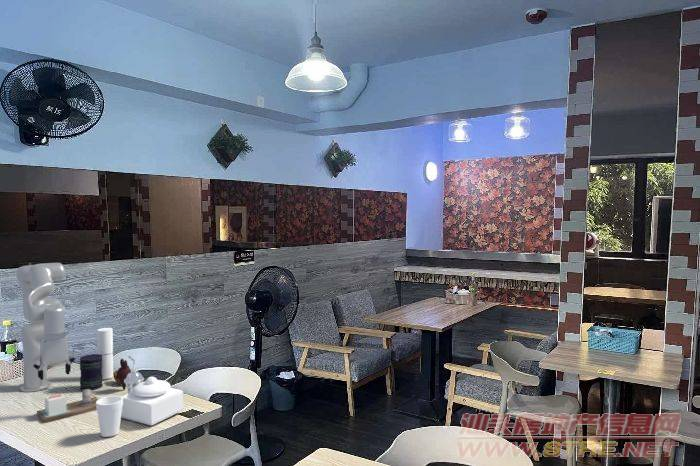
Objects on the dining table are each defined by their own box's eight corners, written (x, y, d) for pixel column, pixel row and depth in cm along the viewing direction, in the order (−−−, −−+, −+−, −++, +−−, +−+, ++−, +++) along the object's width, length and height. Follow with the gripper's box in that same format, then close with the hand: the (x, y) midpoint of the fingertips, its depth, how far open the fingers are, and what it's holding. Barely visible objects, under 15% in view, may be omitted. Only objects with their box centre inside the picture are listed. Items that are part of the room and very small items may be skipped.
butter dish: (183, 409, 212) (183, 374, 211) (150, 426, 195) (150, 387, 195) (154, 402, 219) (153, 368, 218) (120, 417, 203) (119, 380, 202)
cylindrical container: (106, 379, 248) (106, 331, 247) (94, 378, 249) (94, 330, 248) (116, 375, 255) (115, 328, 254) (104, 374, 256) (103, 327, 255)
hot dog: (122, 378, 251) (122, 368, 251) (131, 385, 241) (131, 375, 241) (112, 380, 248) (111, 370, 247) (120, 387, 238) (120, 377, 238)
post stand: (36, 414, 205) (36, 397, 205) (95, 400, 221) (95, 383, 221) (44, 423, 196) (43, 405, 196) (104, 407, 213) (104, 390, 212)
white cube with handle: (62, 406, 209) (61, 391, 209) (66, 411, 204) (66, 395, 204) (45, 411, 205) (44, 395, 204) (48, 415, 200) (48, 399, 200)
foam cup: (102, 428, 193) (102, 395, 192) (126, 427, 193) (126, 395, 193) (92, 439, 183) (91, 405, 183) (117, 438, 184) (117, 404, 183)
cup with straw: (123, 406, 214) (122, 361, 213) (124, 399, 222) (124, 356, 222) (144, 403, 217) (143, 359, 216) (144, 396, 226) (144, 354, 225)
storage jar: (107, 386, 239) (106, 356, 238) (87, 392, 231) (86, 361, 230) (95, 382, 244) (95, 353, 244) (75, 388, 236) (75, 357, 235)
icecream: (134, 390, 234) (134, 359, 233) (118, 394, 229) (118, 362, 228) (129, 386, 239) (128, 356, 238) (113, 390, 234) (113, 359, 233)
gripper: (74, 331, 212) (74, 369, 213) (27, 338, 200) (28, 378, 201) (79, 334, 207) (79, 374, 208) (32, 342, 194) (32, 383, 196)
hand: (54, 376), depth 204 cm, fingers open, 9 cm apart
